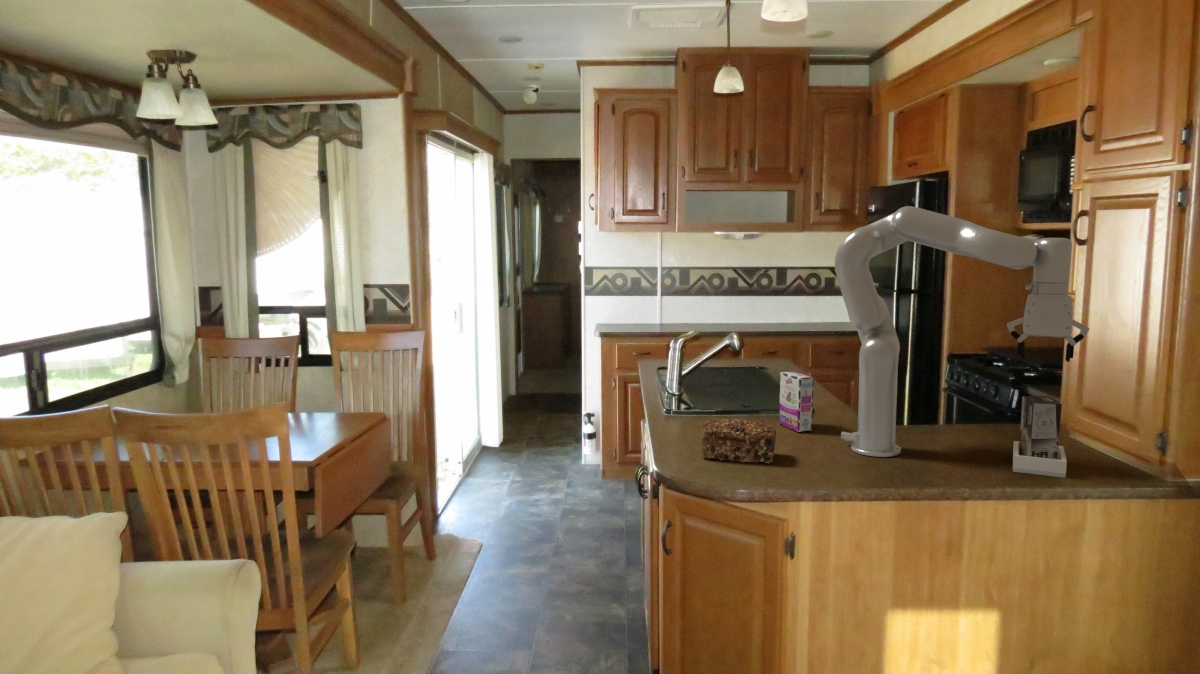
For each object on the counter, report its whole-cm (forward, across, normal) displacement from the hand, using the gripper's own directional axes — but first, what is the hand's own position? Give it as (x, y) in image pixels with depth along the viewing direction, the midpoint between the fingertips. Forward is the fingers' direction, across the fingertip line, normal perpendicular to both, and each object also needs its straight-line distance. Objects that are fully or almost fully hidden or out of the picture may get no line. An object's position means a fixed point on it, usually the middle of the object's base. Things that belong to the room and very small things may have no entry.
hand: (1044, 359), depth 185 cm
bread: (+28, -69, -23) cm, 78 cm away
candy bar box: (+28, -62, +11) cm, 69 cm away
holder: (+27, 0, 0) cm, 27 cm away
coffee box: (+26, 0, 0) cm, 26 cm away
